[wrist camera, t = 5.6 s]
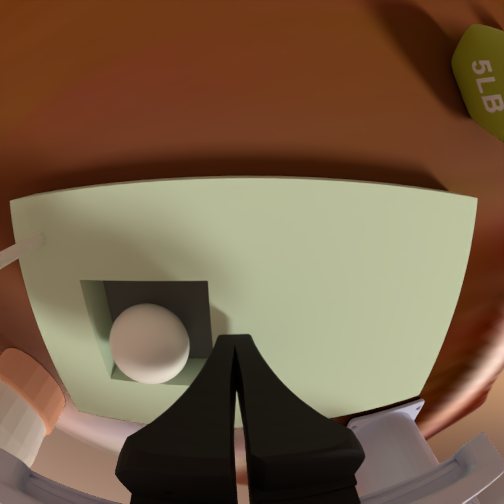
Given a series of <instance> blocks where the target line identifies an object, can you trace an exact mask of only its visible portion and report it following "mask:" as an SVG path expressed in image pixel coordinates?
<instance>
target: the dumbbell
mask: <svg viewBox="0 0 504 504" xmlns="http://www.w3.org/2000/svg"><path fill="white" fill-rule="evenodd" d="M451 66H452V70H453V73H454V76H455V79H456V82H457V84H458V87H459V90H460V92H461V95H462V98H463V100H464V103H465V106H466V108H467V111H468V113H469V114H470V116H471V118H472V119H473V120H474V121H475V122H476V123H477V124H479V125H480V126H481V127H482V128H484V129H485V130H487V131H488V132H489V133H491V134H492V135H494V136H495V137H496V138H498V139H499V140H501V141H502V142H504V31H502V30H499V29H496V28H493V27H489V26H486V25H481V24H473V25H471V26H469V27H468V28H467V30H466V31H465V32H464V34H463V36H462V38H461V40H460V41H459V43H458V45H457V47H456V49H455V52H454V54H453V56H452V60H451Z"/></svg>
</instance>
